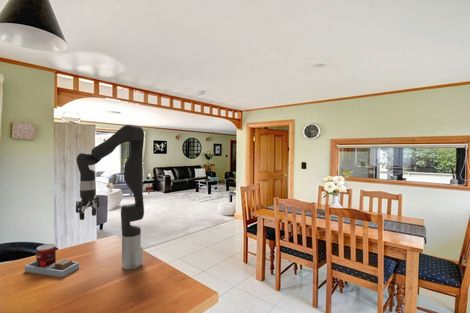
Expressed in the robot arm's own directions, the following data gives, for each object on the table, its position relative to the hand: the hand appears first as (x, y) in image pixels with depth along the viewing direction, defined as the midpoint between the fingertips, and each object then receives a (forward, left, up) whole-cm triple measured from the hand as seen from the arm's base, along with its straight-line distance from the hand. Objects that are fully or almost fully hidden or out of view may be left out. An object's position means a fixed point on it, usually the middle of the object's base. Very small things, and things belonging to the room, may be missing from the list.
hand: (88, 217), depth 135 cm
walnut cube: (+2, +13, -24) cm, 28 cm away
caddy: (+9, +12, -24) cm, 28 cm away
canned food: (+14, +12, -24) cm, 31 cm away
